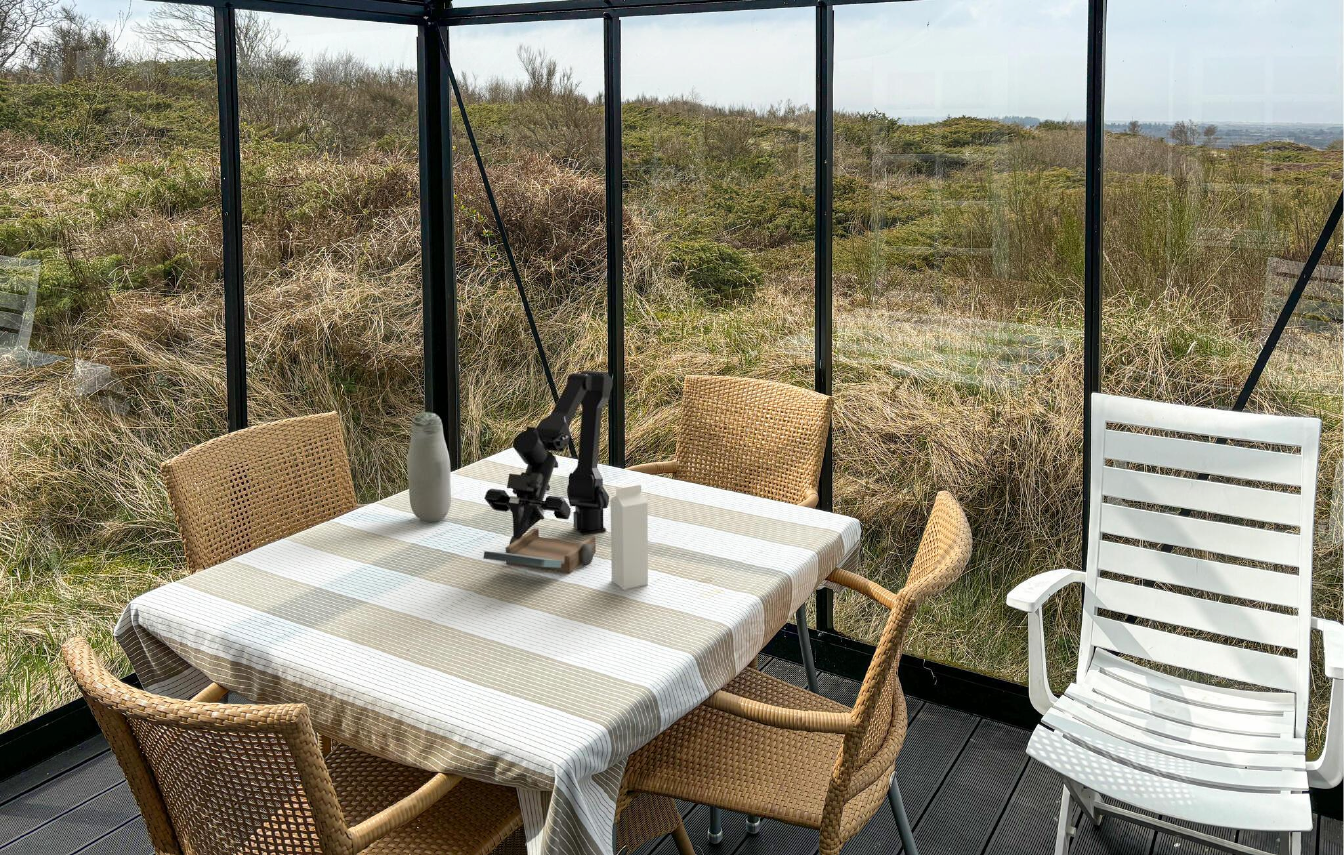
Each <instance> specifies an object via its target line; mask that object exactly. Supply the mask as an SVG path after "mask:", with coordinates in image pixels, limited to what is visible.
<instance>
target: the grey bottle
mask: <svg viewBox="0 0 1344 855" xmlns="http://www.w3.org/2000/svg"><path fill="white" fill-rule="evenodd" d="M406 470H407V471H406V472H407V481H408V483H407V484H408V493H409V494H408V495H409V496H408V497H409V505H410V508H411V511H412V512H413V514H414V516H415V517H416V518H417V519H419V520H420V521H423V522H428V523H433V522H439V521H441V520H442V519H444V518H445V517H446V516H447V515H448V513H449V511H450V508H451V504H452V489H451V488H452V487H451V460H450V455H449V451H448V448H447V443H446V440H445V435H444V428H443V423H442V419H441V418H440V416H439V415H438V414H436V413H433V412H430V411H426V412H419V413H417V414H416V415H415V416H414V417H413V419H412V422H411V435H410V443H409V447H408V451H407V459H406Z"/></svg>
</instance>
